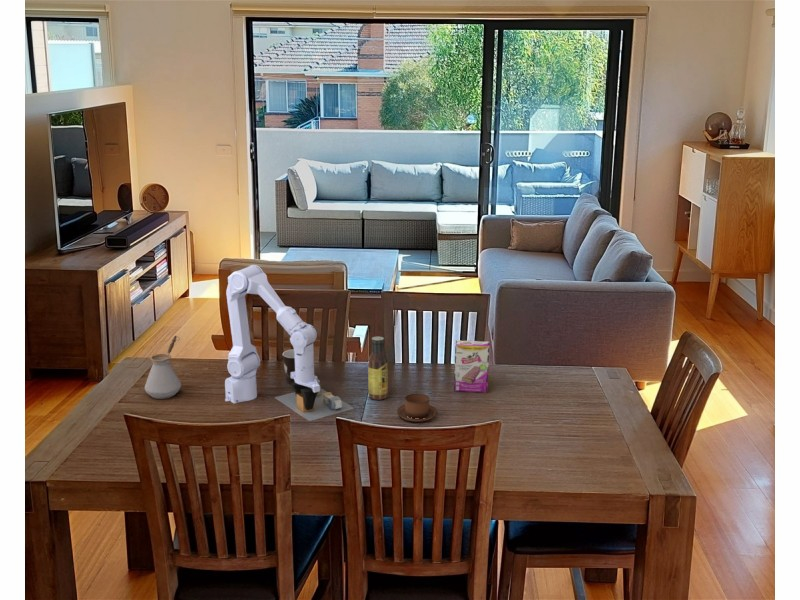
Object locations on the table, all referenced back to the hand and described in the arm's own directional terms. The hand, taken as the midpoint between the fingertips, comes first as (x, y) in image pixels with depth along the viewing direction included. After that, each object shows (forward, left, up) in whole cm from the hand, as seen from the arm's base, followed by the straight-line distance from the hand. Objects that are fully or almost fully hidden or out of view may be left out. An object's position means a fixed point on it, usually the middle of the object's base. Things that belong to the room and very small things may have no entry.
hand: (305, 406), depth 269 cm
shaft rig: (+9, +3, -1) cm, 9 cm away
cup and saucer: (+27, -21, -3) cm, 34 cm away
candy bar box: (+53, -15, -3) cm, 56 cm away
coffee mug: (+11, +26, -3) cm, 29 cm away
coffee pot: (-27, +44, -3) cm, 51 cm away
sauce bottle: (+25, -2, -3) cm, 26 cm away
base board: (+4, +3, -2) cm, 6 cm away
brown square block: (0, 0, -1) cm, 1 cm away
